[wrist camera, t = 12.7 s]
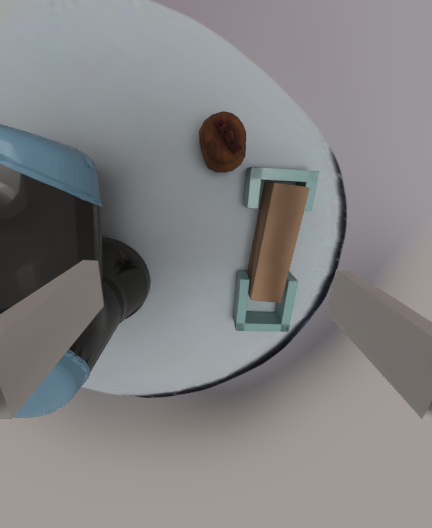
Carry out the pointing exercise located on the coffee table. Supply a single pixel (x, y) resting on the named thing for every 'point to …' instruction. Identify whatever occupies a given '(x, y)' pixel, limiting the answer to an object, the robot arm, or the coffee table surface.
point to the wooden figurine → (223, 142)
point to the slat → (275, 239)
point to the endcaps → (284, 309)
